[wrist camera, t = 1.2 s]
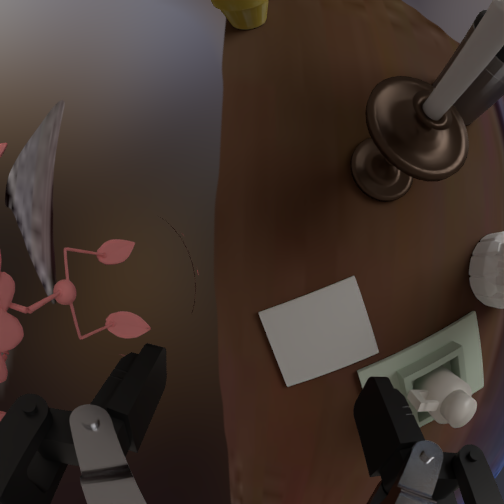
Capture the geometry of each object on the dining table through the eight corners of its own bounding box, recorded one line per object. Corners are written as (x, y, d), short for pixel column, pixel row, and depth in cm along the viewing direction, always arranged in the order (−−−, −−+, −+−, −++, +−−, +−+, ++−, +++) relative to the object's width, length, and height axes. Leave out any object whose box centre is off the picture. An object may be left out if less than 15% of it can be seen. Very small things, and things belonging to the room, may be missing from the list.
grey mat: (353, 275, 34) (354, 275, 34) (377, 351, 33) (378, 352, 33) (258, 312, 36) (258, 312, 35) (287, 384, 35) (287, 386, 34)
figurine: (123, 369, 39) (-57, 464, 4) (103, 208, 40) (-97, 148, 6) (214, 370, 37) (45, 567, 2) (189, 187, 39) (-27, 30, 4)
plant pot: (217, 13, 39) (203, -21, 30) (268, 1, 38) (262, -34, 28) (225, 42, 39) (210, 4, 29) (282, 29, 37) (278, -10, 27)
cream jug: (452, 364, 31) (489, 389, 20) (439, 400, 31) (471, 431, 20) (404, 362, 32) (436, 392, 22) (392, 400, 32) (417, 438, 21)
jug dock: (472, 310, 31) (486, 314, 27) (481, 384, 30) (492, 392, 26) (356, 370, 34) (362, 381, 30) (376, 441, 32) (382, 454, 29)
